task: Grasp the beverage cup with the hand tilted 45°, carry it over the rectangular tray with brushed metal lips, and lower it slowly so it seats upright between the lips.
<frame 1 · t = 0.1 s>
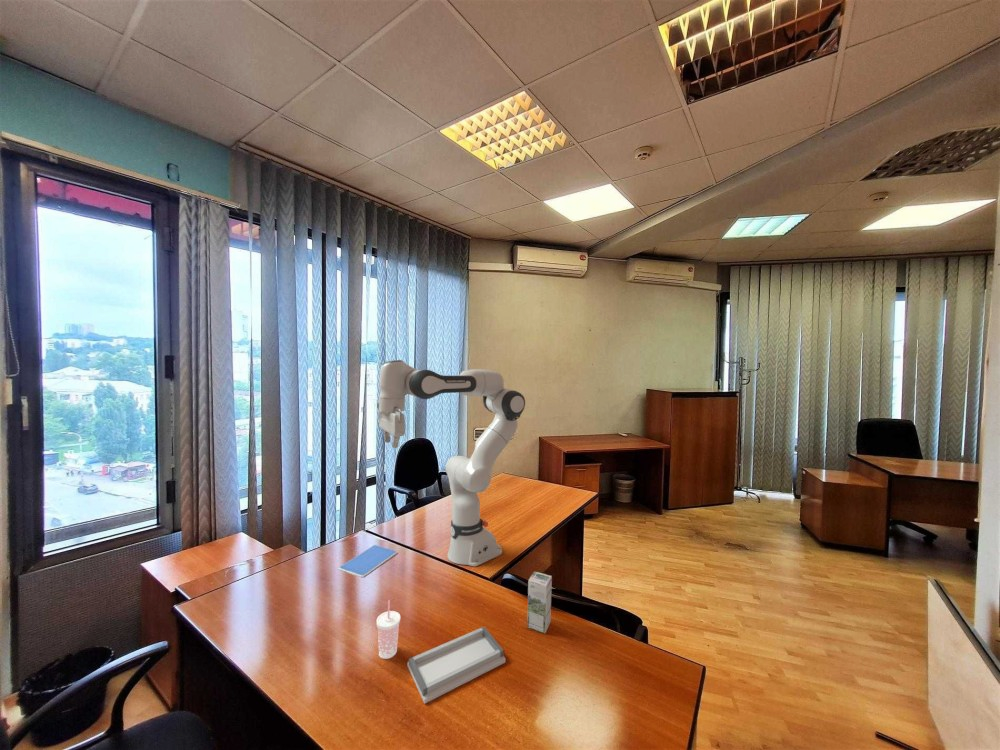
hand: (391, 444, 127), 48 cm above the table, tool pointing down, fingers open, 8 cm apart
syrup box: (538, 625, 107), on the table
tablet computer: (369, 562, 139), on the table
beverage cup: (387, 652, 95), on the table
rectangular tray: (456, 664, 92), on the table
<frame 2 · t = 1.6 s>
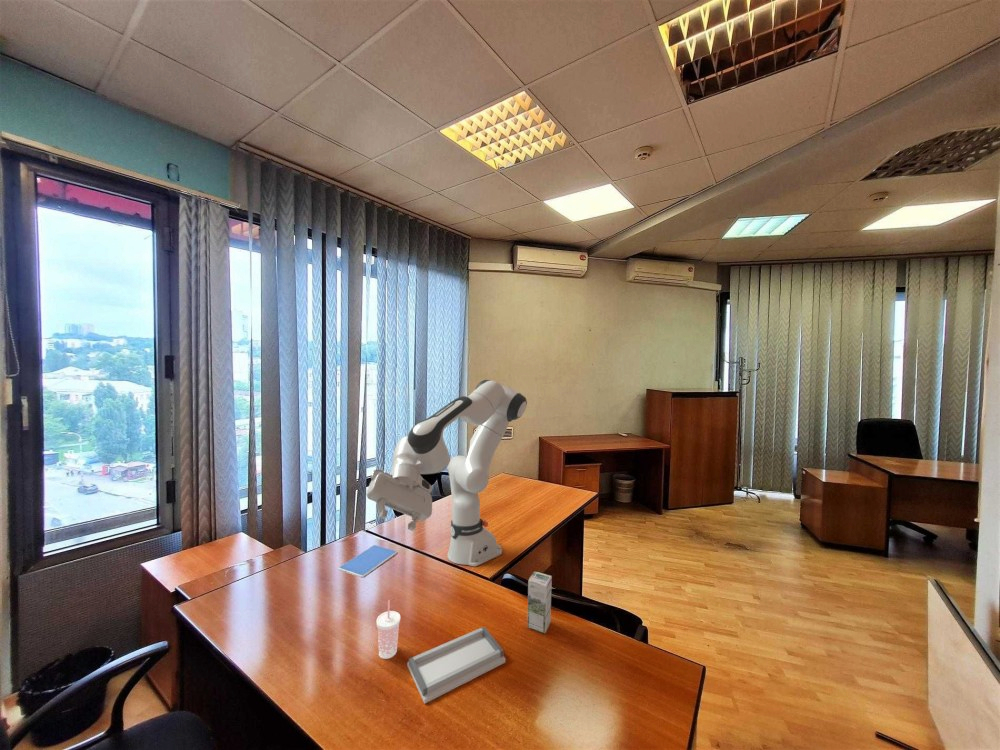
hand: (397, 523, 97), 33 cm above the table, tool tilted 55°, fingers open, 8 cm apart
nothing on the table moved.
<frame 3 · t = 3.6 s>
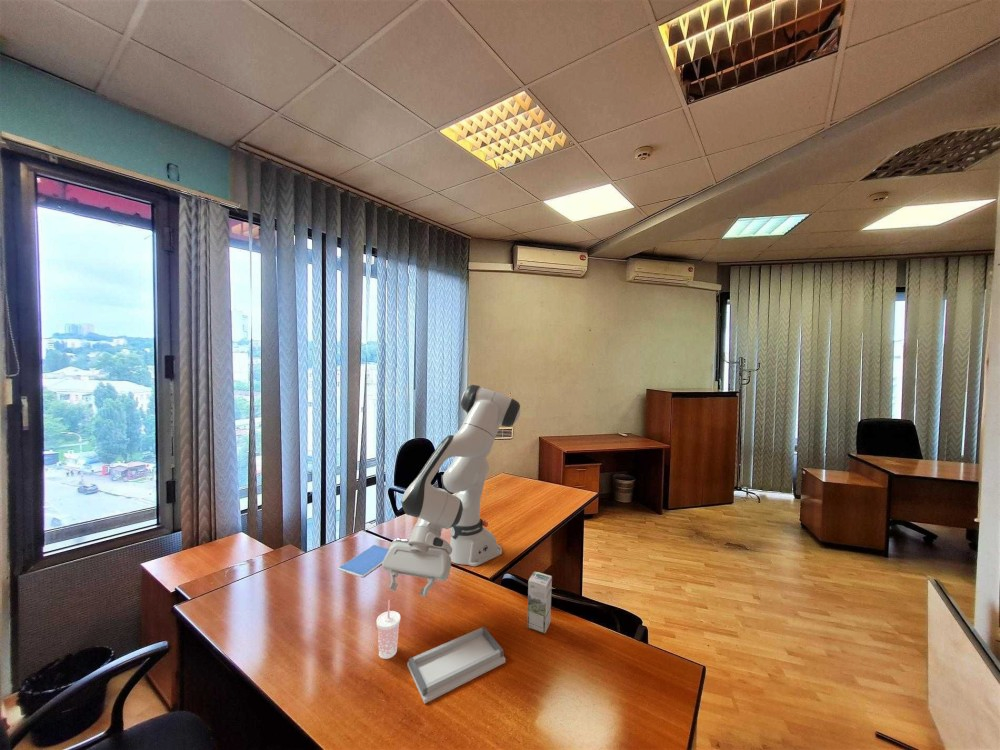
hand: (407, 593, 99), 13 cm above the table, tool tilted 45°, fingers open, 8 cm apart
nothing on the table moved.
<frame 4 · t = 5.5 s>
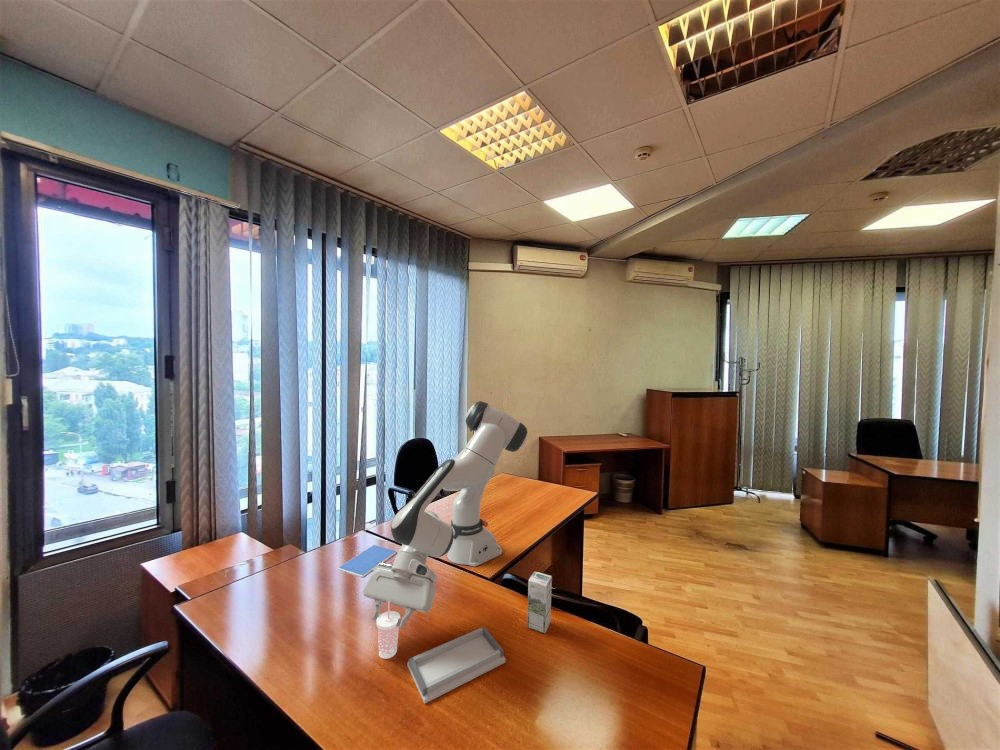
hand: (387, 624, 94), 8 cm above the table, tool tilted 45°, fingers closed on beverage cup, 6 cm apart
beverage cup: (387, 652, 95), on the table, touching gripper
everything else where it was.
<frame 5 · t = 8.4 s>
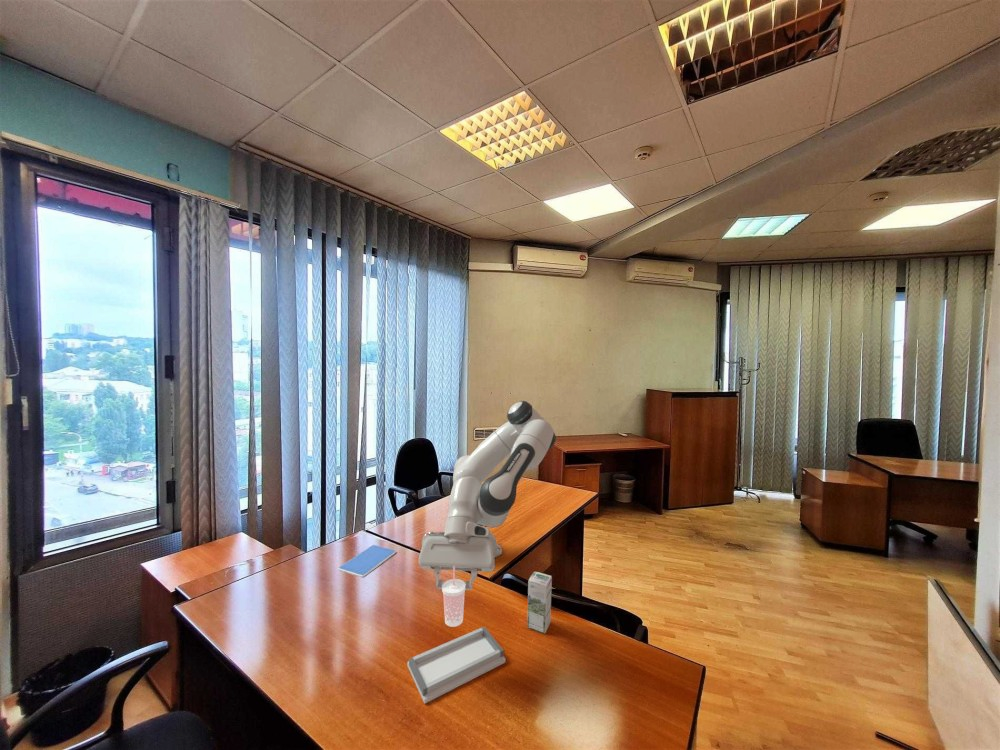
hand: (453, 588, 91), 20 cm above the table, tool tilted 45°, fingers closed on beverage cup, 6 cm apart
beverage cup: (453, 621, 91), point 11 cm above the table, touching gripper
everything else where it was.
when the fingers open (10 cm above the table, at t = 11.3 s): beverage cup stays where it is, resting on rectangular tray.
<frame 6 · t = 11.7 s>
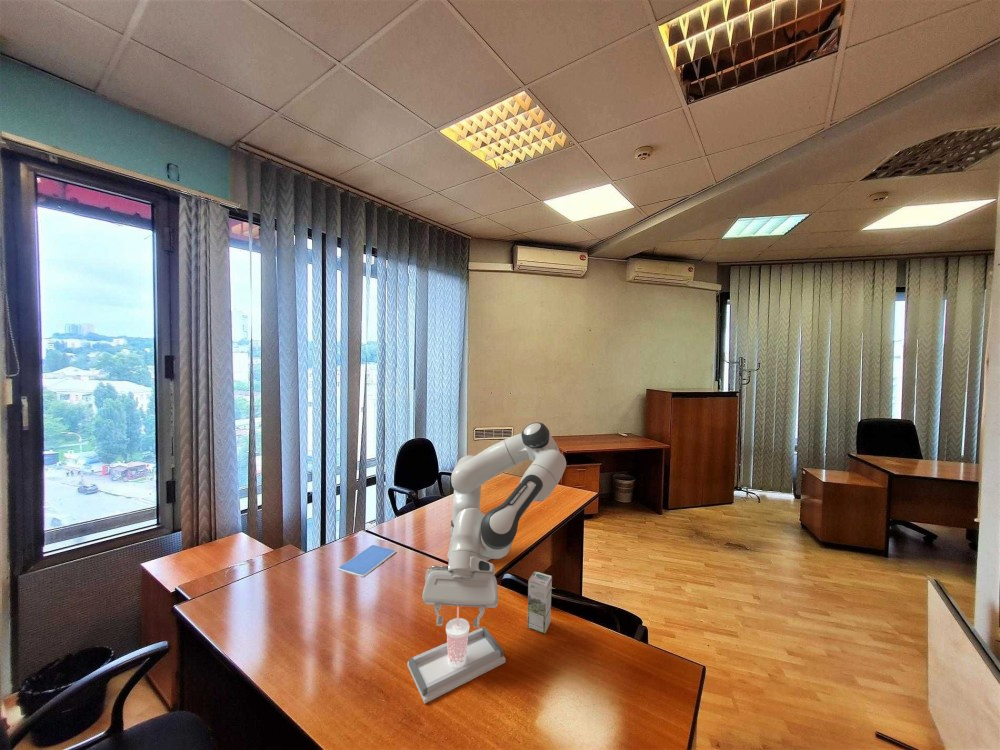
hand: (457, 626, 91), 10 cm above the table, tool tilted 45°, fingers open, 8 cm apart
beverage cup: (457, 661, 92), point 1 cm above the table, touching rectangular tray
everything else where it was.
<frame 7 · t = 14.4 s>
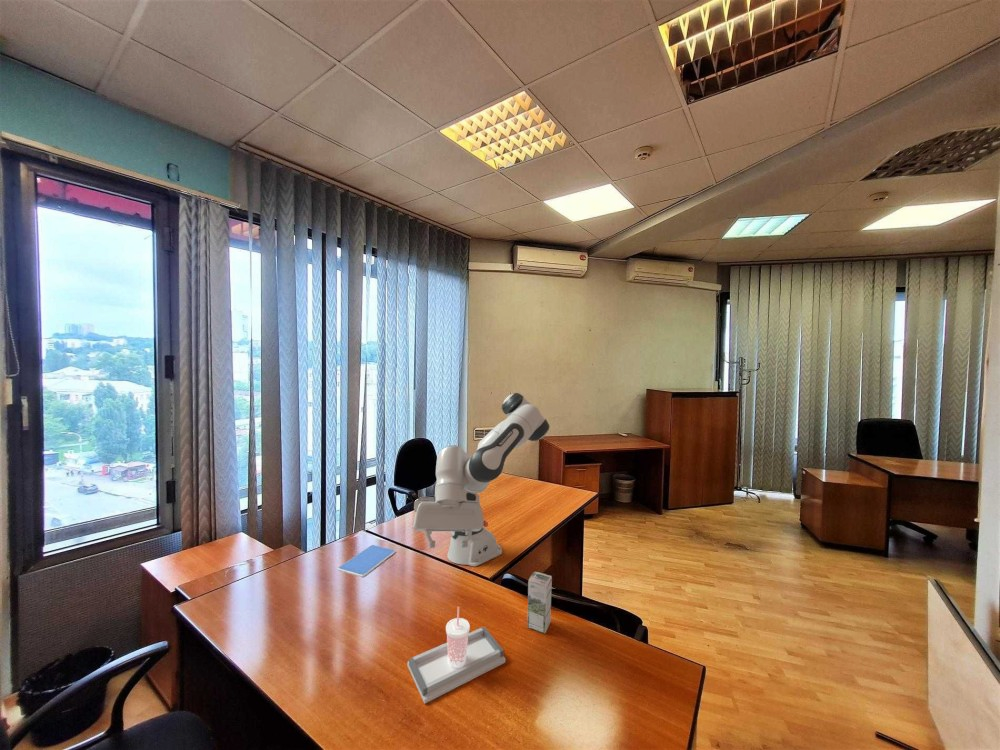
hand: (448, 548, 100), 25 cm above the table, tool tilted 35°, fingers open, 8 cm apart
nothing on the table moved.
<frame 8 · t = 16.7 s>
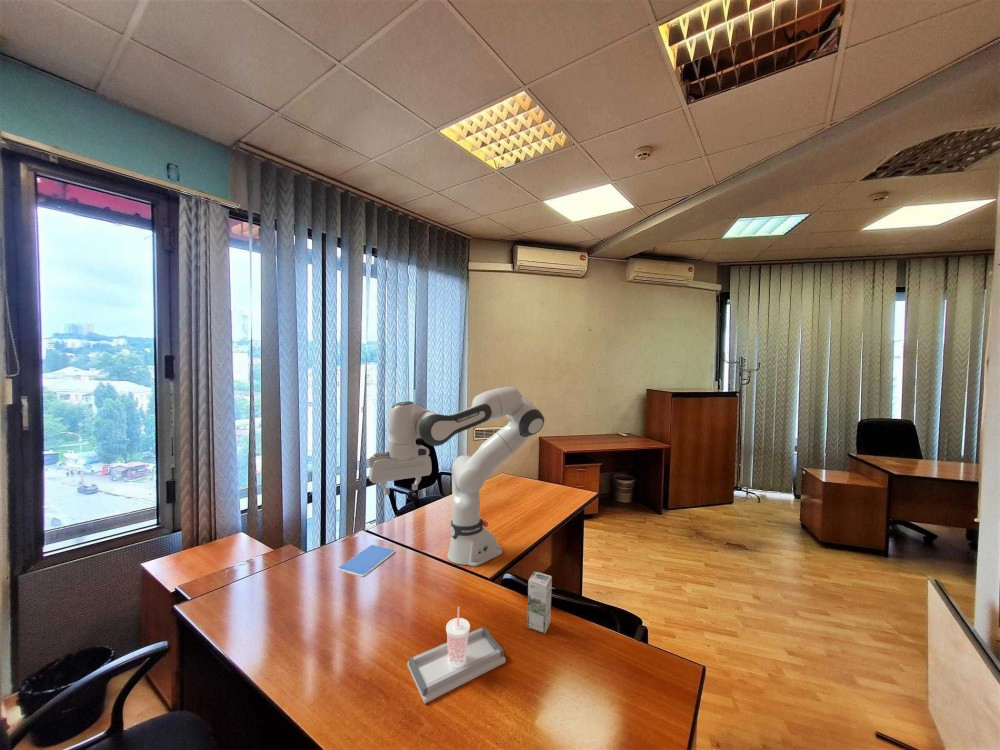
hand: (400, 491, 119), 34 cm above the table, tool pointing down, fingers open, 8 cm apart
nothing on the table moved.
at the end: beverage cup inside the target area on the rectangular tray (0.1 cm from its centre), point 0.8 cm above the rectangular tray's base; beverage cup tilted 0°; the gripper is holding nothing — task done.
